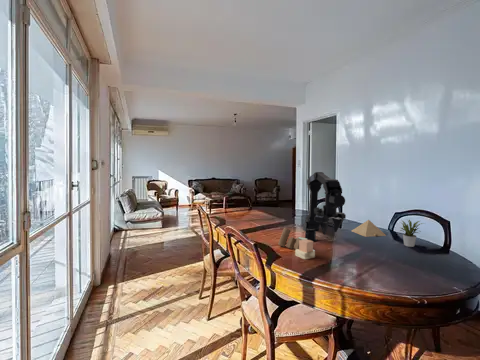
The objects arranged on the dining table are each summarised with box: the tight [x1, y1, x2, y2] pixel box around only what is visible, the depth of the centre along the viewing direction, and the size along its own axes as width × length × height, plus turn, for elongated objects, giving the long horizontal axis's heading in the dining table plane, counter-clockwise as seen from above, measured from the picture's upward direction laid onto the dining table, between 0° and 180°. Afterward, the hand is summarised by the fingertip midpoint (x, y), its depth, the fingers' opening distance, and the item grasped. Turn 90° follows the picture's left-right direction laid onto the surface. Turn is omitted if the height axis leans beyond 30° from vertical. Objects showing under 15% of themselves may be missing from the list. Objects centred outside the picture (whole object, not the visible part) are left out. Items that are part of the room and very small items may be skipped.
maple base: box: [294, 249, 316, 260], centre depth 148 cm, size 7×7×4 cm
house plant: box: [399, 219, 426, 248], centre depth 169 cm, size 14×14×16 cm
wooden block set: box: [277, 227, 302, 250], centre depth 165 cm, size 18×9×10 cm, turn 30°
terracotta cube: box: [299, 239, 314, 252], centre depth 148 cm, size 5×5×5 cm
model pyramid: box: [351, 219, 387, 238], centre depth 198 cm, size 17×17×10 cm
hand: (329, 233), depth 149 cm, fingers open, 9 cm apart
